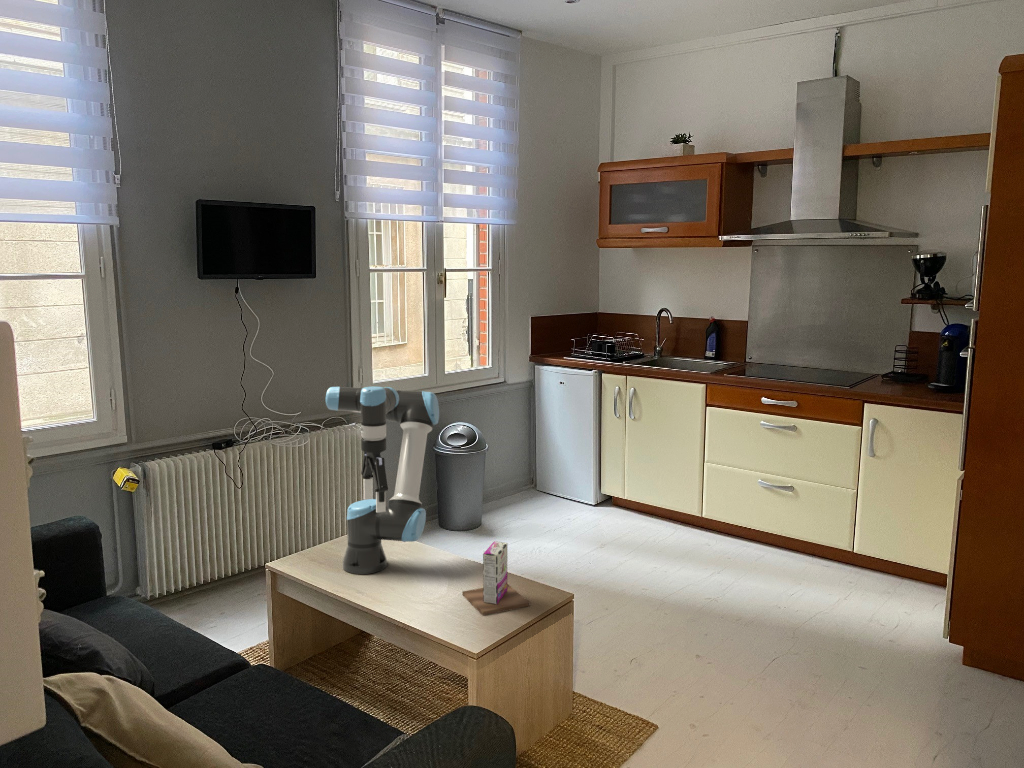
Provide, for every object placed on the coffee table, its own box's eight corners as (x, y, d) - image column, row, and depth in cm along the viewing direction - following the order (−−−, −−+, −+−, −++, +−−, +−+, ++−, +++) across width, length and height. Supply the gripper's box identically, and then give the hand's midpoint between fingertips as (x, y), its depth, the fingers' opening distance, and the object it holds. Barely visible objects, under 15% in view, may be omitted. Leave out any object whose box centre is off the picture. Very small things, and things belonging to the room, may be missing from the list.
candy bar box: (493, 588, 256) (493, 540, 253) (507, 590, 254) (508, 542, 252) (481, 603, 245) (482, 552, 242) (497, 605, 244) (497, 554, 241)
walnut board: (462, 595, 253) (462, 591, 253) (507, 586, 260) (507, 583, 260) (482, 615, 239) (482, 611, 239) (529, 606, 246) (529, 602, 246)
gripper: (350, 430, 248) (351, 495, 251) (373, 448, 226) (374, 519, 229) (374, 428, 251) (374, 492, 255) (398, 445, 229) (398, 515, 233)
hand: (374, 505), depth 242 cm, fingers open, 13 cm apart
